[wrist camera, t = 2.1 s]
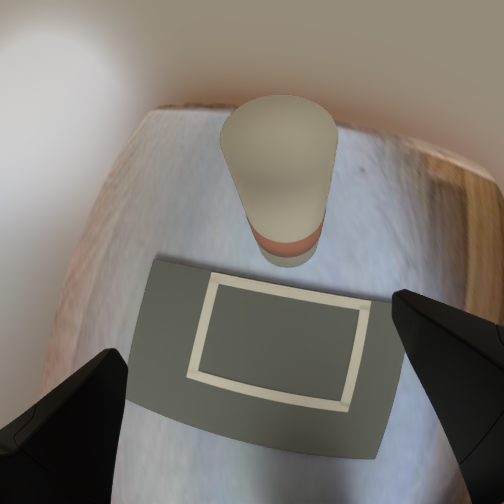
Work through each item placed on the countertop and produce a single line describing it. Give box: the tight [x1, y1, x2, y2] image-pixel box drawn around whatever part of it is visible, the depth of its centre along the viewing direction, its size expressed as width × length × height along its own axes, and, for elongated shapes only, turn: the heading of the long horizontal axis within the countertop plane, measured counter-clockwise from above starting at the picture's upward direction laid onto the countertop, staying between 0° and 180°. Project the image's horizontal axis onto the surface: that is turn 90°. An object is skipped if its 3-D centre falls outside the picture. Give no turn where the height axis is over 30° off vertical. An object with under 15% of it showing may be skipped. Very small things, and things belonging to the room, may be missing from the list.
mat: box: [125, 259, 405, 459], centre depth 20 cm, size 22×13×1 cm, turn 77°
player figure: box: [220, 94, 338, 268], centre depth 17 cm, size 5×5×13 cm
